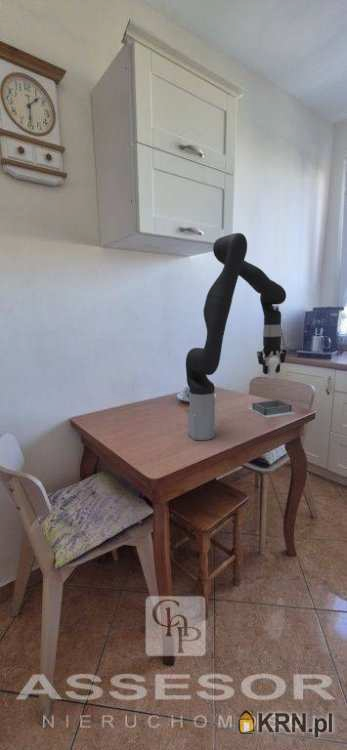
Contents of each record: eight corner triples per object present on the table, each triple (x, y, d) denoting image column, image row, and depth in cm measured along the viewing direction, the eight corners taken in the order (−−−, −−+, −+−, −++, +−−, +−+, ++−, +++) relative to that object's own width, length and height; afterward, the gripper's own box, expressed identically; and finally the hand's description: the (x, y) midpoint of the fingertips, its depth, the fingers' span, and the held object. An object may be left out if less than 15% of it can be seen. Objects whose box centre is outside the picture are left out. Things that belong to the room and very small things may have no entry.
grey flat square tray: (267, 418, 137) (267, 410, 136) (248, 408, 151) (248, 401, 150) (296, 413, 142) (296, 406, 141) (275, 404, 155) (275, 398, 155)
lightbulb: (261, 378, 142) (261, 354, 140) (268, 376, 146) (269, 352, 144) (274, 380, 138) (274, 355, 135) (281, 378, 142) (281, 353, 139)
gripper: (262, 336, 132) (262, 376, 136) (291, 334, 136) (290, 373, 140) (252, 335, 139) (252, 373, 143) (280, 333, 143) (279, 370, 147)
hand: (271, 373), depth 141 cm, fingers closed on lightbulb, 5 cm apart
